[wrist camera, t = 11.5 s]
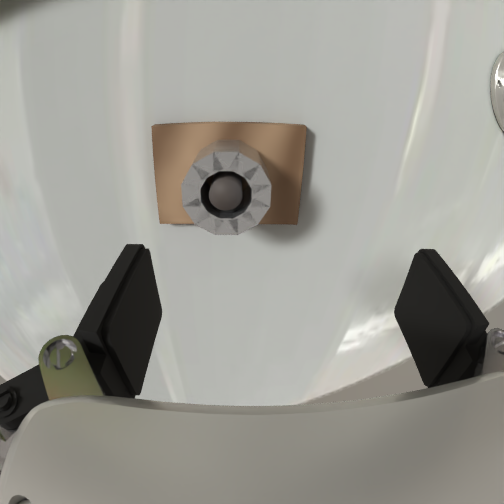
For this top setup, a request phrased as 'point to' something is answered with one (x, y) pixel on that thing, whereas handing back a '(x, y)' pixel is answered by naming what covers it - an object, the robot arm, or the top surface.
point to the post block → (228, 182)
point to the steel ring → (253, 197)
